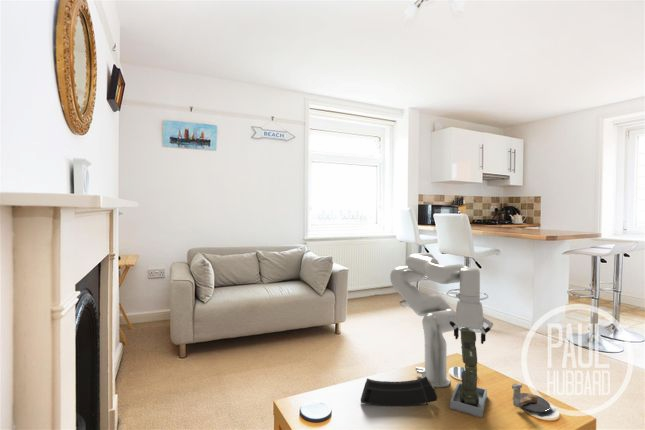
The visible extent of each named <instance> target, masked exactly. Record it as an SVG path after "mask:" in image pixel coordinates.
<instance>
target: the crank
mask: <svg viewBox="0 0 645 430" xmlns="http://www.w3.org/2000/svg"><path fill="white" fill-rule="evenodd" d="M522 388H523V384H521V382H520V383H519V382H518V383H515V384H512V385H511V389H513V390H512V391H513V392H512V393H513V398H512V399H513V400H512V401H513V404H512V405H513V406H514V407H515V408H520V406H521V405H524V404H527V403H530V402H532V403H537V400H538V397H537V396H538V395H537V396H536V394H533V393H529V394H527V397H524V398H521V399H520V393H521V389H522Z"/></svg>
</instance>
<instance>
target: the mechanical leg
mask: <svg viewBox="0 0 645 430" xmlns="http://www.w3.org/2000/svg"><path fill="white" fill-rule="evenodd" d="M459 330H460V344H461V357H462V363H463V364H464V369H463V370H462V371H461V383H462V388H461V390H460V393H459V395H460V402H462V403H464V404H468V405H471V406H475V407H478V404H479V396H478V394H477V387H478V384H477V383H478V354H477V346H476V342H477V333H476V331H475V330H472V329H471V328H466V327H461V329H459Z"/></svg>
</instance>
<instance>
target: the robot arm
mask: <svg viewBox="0 0 645 430" xmlns="http://www.w3.org/2000/svg"><path fill="white" fill-rule="evenodd" d="M426 277H427V279H429V280H430V281H432V282H435V283H437V284H442V285H448V284H449V285H450V284H457V283H459V293H456V294H455V298H458V300H457V303H456V308H455V310H454V308H453V307H451V305H450V304H449V303H448V302H447V301H446V300H445V299H444V298H443V297H442V296H441V295H438V294H436V293H433V294H423V293H422V292H421V290H419V289H418V287H417V286H415V285H413V284H411V283H414V282H415V283H417V282H420V281H422V280H423V279H424V278H426ZM389 278H390V283H391V285H392V287H393V289H394V291H396V293H398V294H399V295H400V296H401V297H402V298H403V299H404V300H405V302H406V304H407V305H409V307H410V308H411V309H412V310H413V312H414V313H415V314H416V315H417V316H420V317H422V320H421V322H422V329H423V335H424V367H419V366H415V371H416V373H417V374H419V375H421V376H420V377H421V378H420V379H422V378H425V377H427V379H428V381H429V380H430V381H431V383H432V385H433V387H434V388H438V389H439V388H446V387H448V386H449V385H450V383H451V379H450V378H449V377H448V375H447V359H448V358H447V357H448V356H447V353H448V352H447V348H448V347H447V341H446V339H445V338H444V335H443V334H444V333H445V334H446V332H453V337H455V340H458V339H459V330H460V329H459V327H461V328H469V329H471V330H472V329H473V330H479V331H480V332H481V334H480V344H481V345H484V343H485V342H486V334H487V333H488V332H490V331H491V330H492V328H493V326H494V323H493V321H490V320H488V319H487V318H485V317H484V311H483V310H484V309H483V303H482V302H481V295H480V294H481V292H480V291H481V272H480V270H479V268H475V267H469V266H467V265H465V264H460V263H459V264H458V263H456V264H448V265H447V264H446V265H440V263H439V261H438V259H436V258H435V256H434V255H433V254H432V253H428V252H420V253H419V252H418V253H412V254H410V255H408V256H407V257H406V260H405V265H404V266H398V267H395V268H393V269H392V270H391V271H390V277H389ZM484 323H485V324H486V325H487V327H484ZM430 381H429V382H430Z"/></svg>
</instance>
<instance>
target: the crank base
mask: <svg viewBox="0 0 645 430" xmlns="http://www.w3.org/2000/svg"><path fill="white" fill-rule="evenodd" d="M527 394H530V393H526V392H522V393H521V392H520V399H521V398H524V397H527ZM535 395H536V394H535ZM536 396H537V397H538V400H537V403H532V402H530V403H527V404H524V405H521V406H520V407H519V408H520V409H522V410H524V411H526V412H529V413H533V414H536V415H537V414H538V415H539V414H540V415H544V414H548V413H550V411H551V404H550V403H549V401H548V400H546V399H545V398H543V397H541V396H539V395H536ZM549 408H550V409H549ZM547 409H549V410H547ZM545 410H547V411H545Z"/></svg>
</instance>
